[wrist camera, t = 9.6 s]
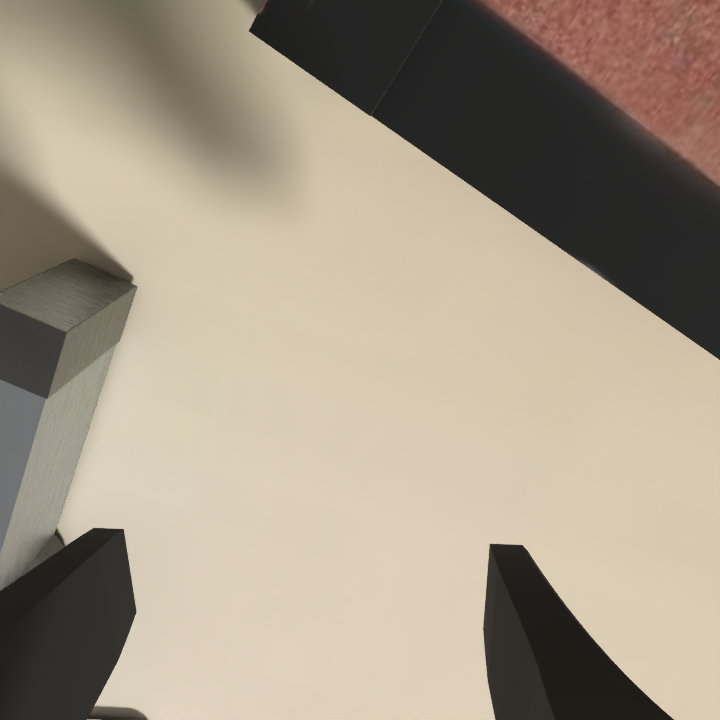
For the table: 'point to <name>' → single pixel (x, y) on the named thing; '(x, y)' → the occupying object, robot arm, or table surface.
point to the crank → (50, 397)
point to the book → (551, 120)
